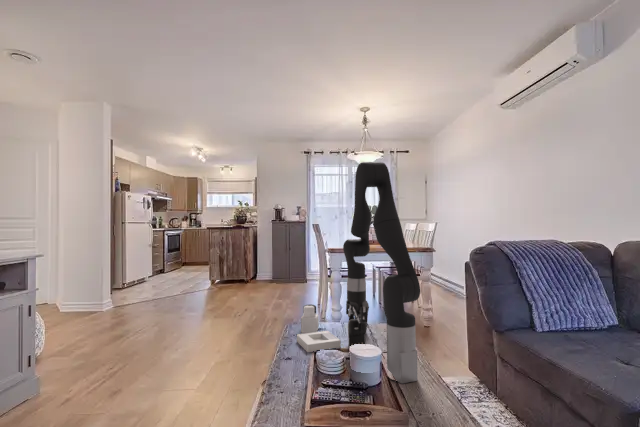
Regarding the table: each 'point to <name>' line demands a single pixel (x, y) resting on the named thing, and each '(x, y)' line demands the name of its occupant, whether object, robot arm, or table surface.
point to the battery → (355, 333)
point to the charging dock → (318, 341)
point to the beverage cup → (365, 304)
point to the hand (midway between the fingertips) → (356, 329)
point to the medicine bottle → (309, 319)
